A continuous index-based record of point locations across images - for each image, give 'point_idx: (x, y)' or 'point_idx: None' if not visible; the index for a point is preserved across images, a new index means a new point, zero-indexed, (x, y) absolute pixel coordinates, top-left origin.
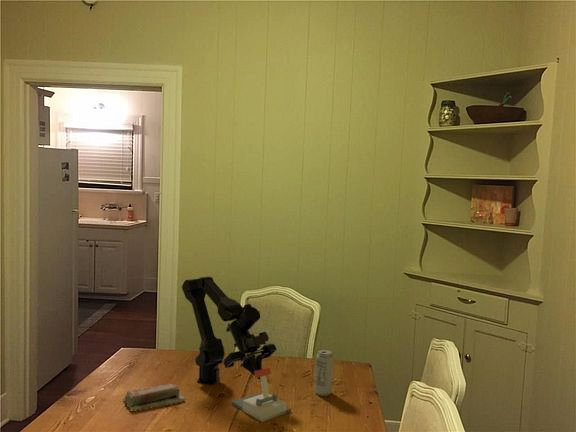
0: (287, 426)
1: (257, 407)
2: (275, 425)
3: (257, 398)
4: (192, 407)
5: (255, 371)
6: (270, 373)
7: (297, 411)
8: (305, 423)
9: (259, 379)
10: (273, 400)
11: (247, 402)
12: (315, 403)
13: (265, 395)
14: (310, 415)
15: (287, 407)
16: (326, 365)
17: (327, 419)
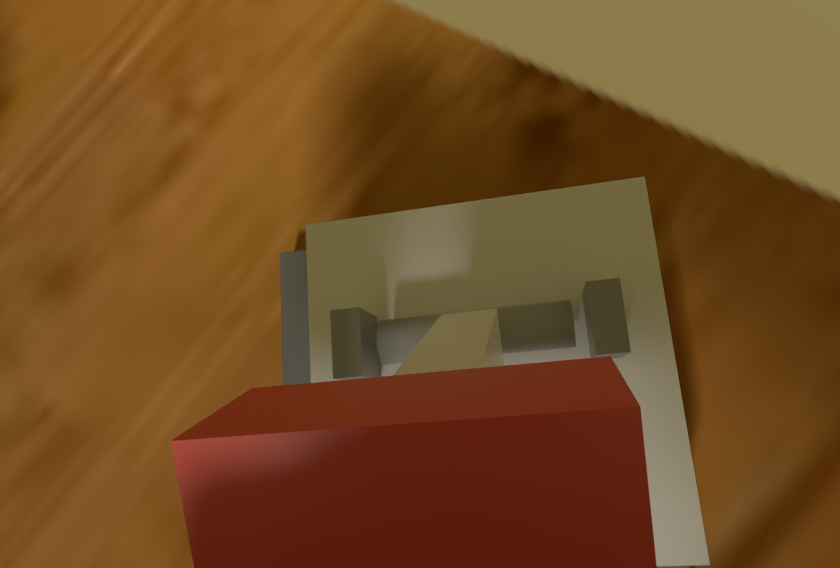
0: (479, 57)
1: (649, 281)
2: (556, 112)
3: None
4: None
5: (648, 530)
6: (255, 390)
7: (243, 239)
8: (329, 42)
9: None
10: None
11: (691, 465)
12: (36, 288)
13: (497, 319)
14: (210, 133)
15: (287, 290)
16: None
17: (161, 29)
